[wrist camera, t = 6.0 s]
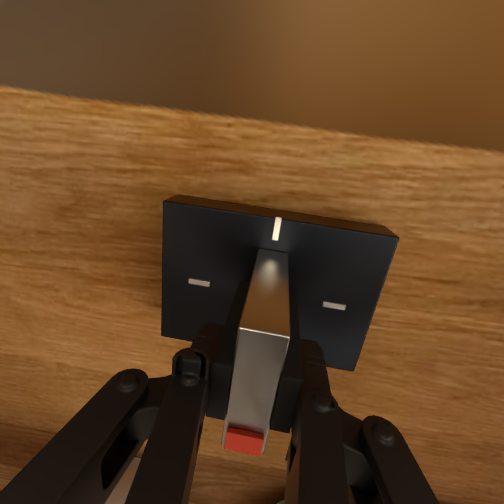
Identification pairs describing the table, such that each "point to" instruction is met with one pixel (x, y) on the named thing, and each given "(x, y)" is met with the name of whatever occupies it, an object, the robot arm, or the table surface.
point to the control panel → (299, 269)
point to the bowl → (124, 484)
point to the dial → (258, 355)
